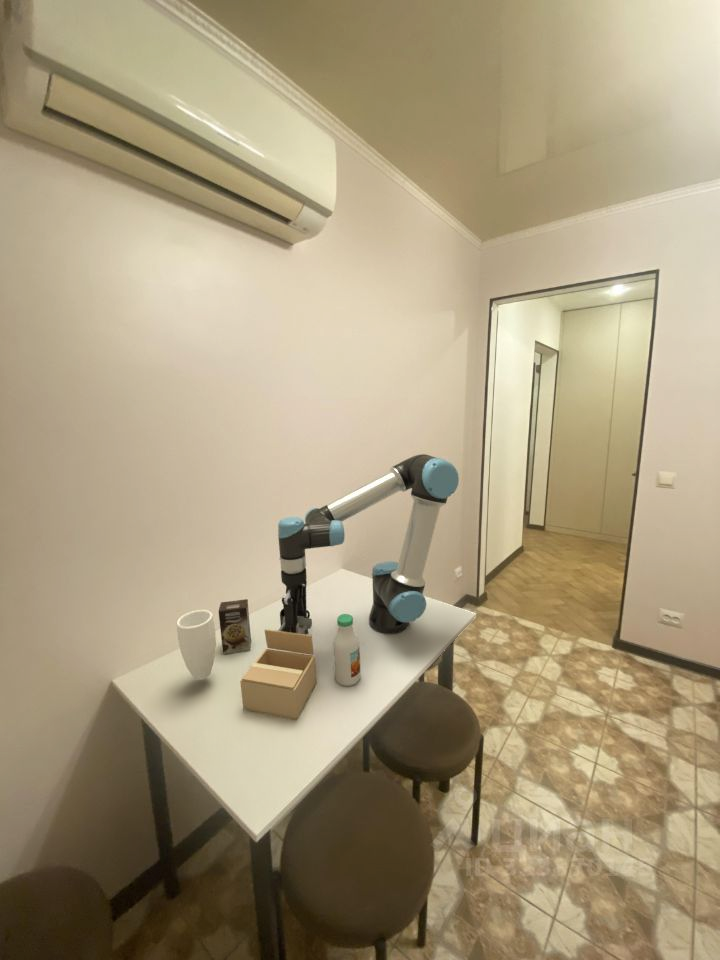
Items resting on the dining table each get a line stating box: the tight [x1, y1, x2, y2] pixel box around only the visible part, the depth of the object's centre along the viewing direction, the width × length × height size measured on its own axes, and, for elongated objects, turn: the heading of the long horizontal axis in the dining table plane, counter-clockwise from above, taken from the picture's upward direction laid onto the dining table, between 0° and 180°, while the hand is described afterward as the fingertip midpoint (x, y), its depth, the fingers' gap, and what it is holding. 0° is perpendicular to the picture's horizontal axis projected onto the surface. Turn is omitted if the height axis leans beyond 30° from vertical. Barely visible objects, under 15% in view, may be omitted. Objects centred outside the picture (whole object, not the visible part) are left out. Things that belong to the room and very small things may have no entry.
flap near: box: [264, 616, 315, 656], centre depth 118 cm, size 15×7×8 cm
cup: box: [176, 609, 217, 681], centre depth 114 cm, size 10×10×22 cm
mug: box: [279, 607, 311, 635], centre depth 139 cm, size 9×12×9 cm
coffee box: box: [218, 598, 252, 655], centre depth 131 cm, size 9×6×16 cm
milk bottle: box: [333, 613, 361, 687], centre depth 114 cm, size 8×8×20 cm
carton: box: [239, 648, 318, 721], centre depth 109 cm, size 16×14×10 cm
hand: (297, 638), depth 121 cm, fingers closed on flap near, 3 cm apart
